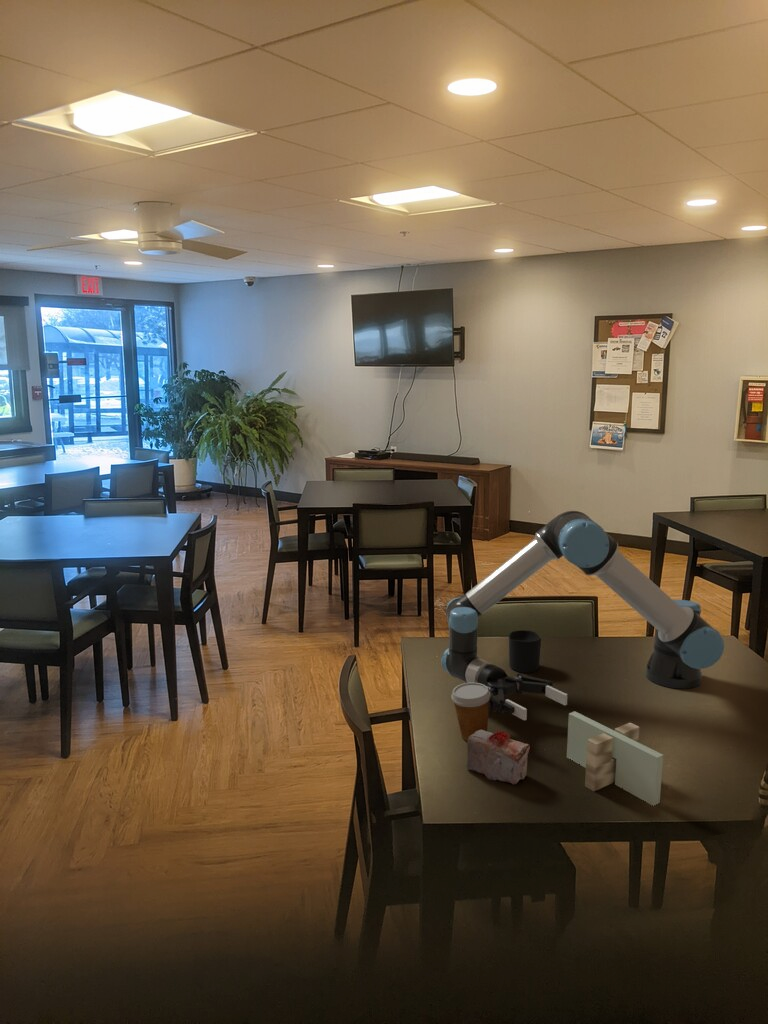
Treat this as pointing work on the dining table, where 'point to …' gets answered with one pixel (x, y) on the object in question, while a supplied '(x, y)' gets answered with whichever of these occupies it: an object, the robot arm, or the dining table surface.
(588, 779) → the birch slotted plate
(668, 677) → the robot arm
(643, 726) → the dining table surface
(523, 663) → the pen holder
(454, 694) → the disposable coffee cup
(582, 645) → the dining table surface
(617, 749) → the sage slotted plate
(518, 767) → the food item
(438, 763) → the dining table surface
